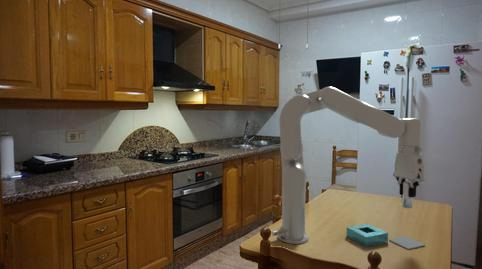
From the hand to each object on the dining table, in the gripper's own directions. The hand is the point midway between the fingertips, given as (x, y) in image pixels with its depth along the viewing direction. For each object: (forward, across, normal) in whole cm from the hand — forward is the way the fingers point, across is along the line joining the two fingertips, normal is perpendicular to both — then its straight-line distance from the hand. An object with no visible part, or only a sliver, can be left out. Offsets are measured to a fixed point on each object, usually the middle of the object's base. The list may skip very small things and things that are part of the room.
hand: (407, 195), depth 122 cm
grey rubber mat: (+20, 0, 0) cm, 20 cm away
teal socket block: (+19, +9, +12) cm, 24 cm away
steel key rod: (+5, 0, 0) cm, 5 cm away
